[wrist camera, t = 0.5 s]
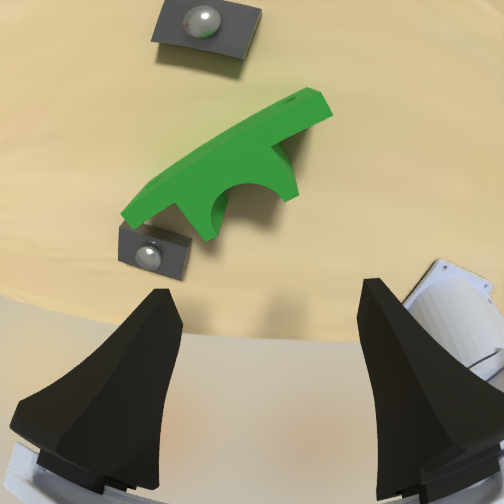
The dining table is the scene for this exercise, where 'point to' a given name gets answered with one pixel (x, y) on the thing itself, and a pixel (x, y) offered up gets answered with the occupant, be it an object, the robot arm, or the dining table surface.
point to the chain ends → (203, 38)
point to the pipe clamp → (231, 165)
